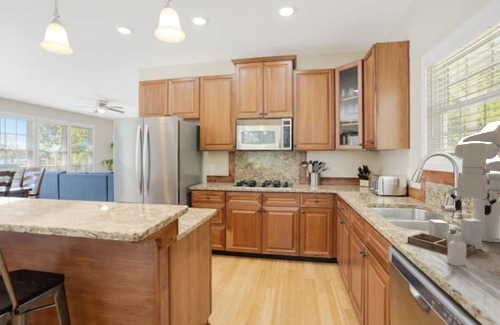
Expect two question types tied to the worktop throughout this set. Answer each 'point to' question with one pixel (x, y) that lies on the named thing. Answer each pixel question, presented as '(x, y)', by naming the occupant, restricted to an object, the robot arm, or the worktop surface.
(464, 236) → the skincare box
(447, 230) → the skincare box
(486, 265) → the worktop surface
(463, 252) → the eye dropper bottle
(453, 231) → the sage bottle
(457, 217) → the worktop surface
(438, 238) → the wooden frame
